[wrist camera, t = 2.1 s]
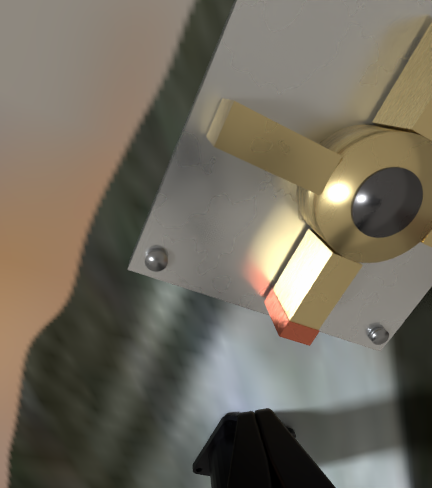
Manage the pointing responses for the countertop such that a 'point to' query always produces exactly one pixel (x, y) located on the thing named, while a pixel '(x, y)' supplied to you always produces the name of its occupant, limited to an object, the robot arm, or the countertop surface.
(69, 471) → the countertop surface
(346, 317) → the flange plate
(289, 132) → the brass cross latch
